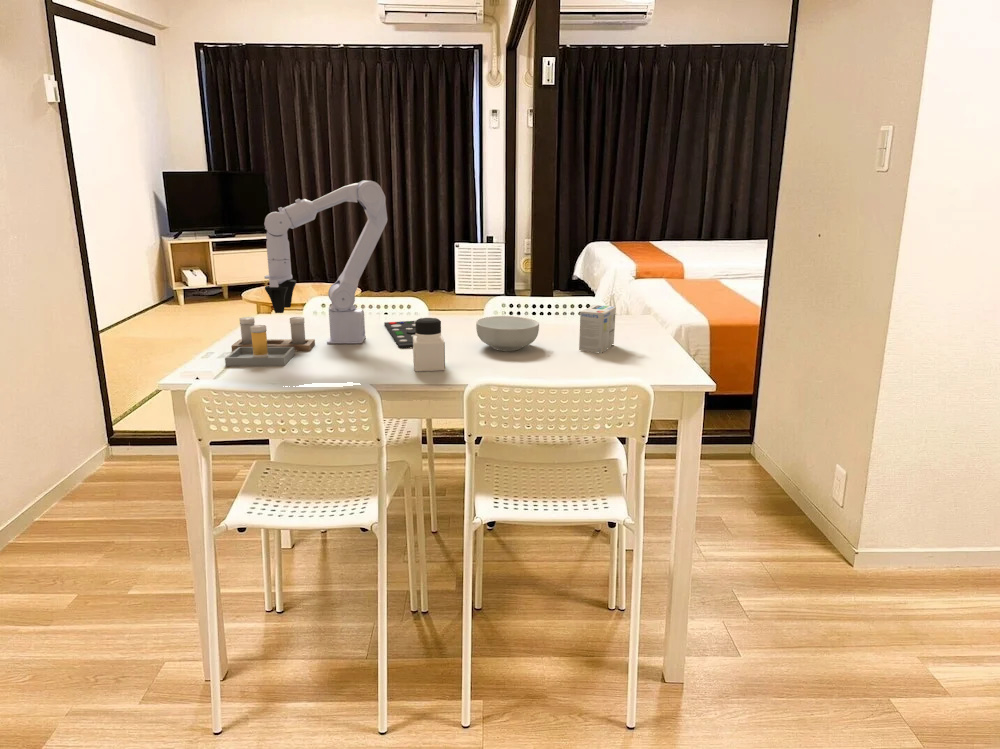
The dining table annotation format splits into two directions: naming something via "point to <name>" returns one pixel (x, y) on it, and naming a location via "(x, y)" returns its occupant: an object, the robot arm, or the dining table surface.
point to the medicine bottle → (428, 345)
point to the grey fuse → (297, 330)
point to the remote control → (402, 332)
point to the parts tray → (245, 357)
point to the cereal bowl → (507, 332)
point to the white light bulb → (246, 329)
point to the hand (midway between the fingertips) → (282, 310)
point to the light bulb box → (597, 328)
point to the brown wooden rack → (280, 344)
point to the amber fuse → (259, 341)
